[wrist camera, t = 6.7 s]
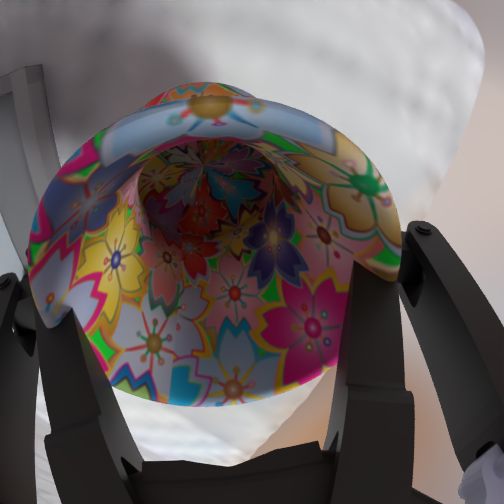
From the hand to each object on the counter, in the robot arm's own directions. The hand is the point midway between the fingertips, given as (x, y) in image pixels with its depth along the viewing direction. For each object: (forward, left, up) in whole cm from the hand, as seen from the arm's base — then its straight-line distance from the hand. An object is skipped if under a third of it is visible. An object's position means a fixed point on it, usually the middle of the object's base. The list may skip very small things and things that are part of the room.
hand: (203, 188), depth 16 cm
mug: (-1, 0, -1) cm, 1 cm away
